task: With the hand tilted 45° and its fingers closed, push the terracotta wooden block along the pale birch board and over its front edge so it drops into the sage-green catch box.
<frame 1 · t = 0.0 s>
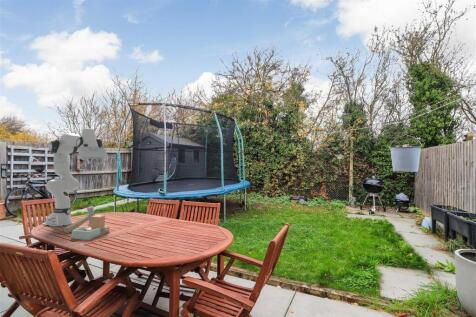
hand: (95, 163, 216), 54 cm above the table, tool tilted 30°, fingers open, 8 cm apart
hammer: (80, 229, 236), on the table
board: (96, 233, 225), on the table
catch box: (86, 237, 213), on the table
block: (97, 227, 227), point 4 cm above the table, touching board
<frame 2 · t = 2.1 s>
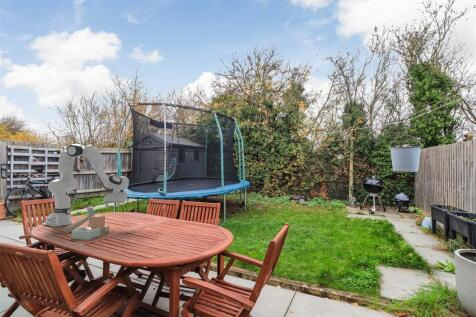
hand: (111, 206, 242), 18 cm above the table, tool tilted 45°, fingers open, 8 cm apart
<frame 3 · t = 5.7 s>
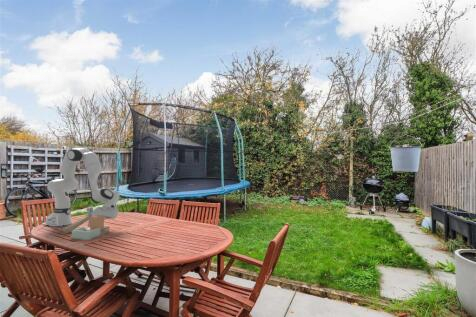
hand: (100, 222, 229), 7 cm above the table, tool tilted 45°, fingers closed, pressing on block
block: (96, 227, 225), point 4 cm above the table, touching gripper
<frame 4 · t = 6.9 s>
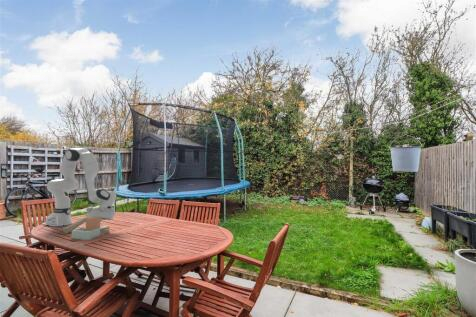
hand: (96, 223, 225), 7 cm above the table, tool tilted 45°, fingers closed, pressing on block
block: (92, 229, 221), point 4 cm above the table, touching board, gripper
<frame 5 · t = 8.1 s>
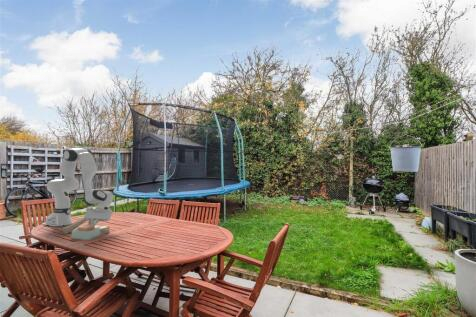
hand: (92, 224, 221), 7 cm above the table, tool tilted 45°, fingers closed
block: (90, 229, 218), point 4 cm above the table, tilted 90°, touching catch box
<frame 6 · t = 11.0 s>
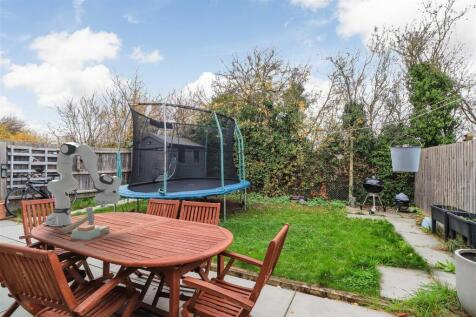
hand: (102, 207, 231), 19 cm above the table, tool tilted 45°, fingers closed
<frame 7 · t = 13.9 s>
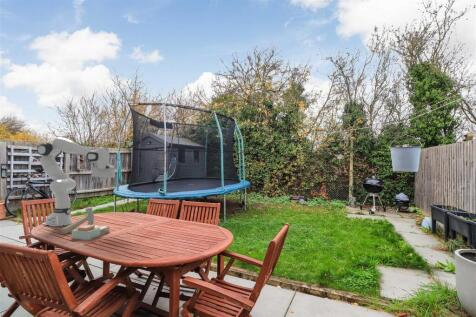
hand: (103, 182, 246), 37 cm above the table, tool pointing down, fingers closed
at the end: block inside the target area (3.5 cm from its centre), point 4.5 cm above the table; block touching catch box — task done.
